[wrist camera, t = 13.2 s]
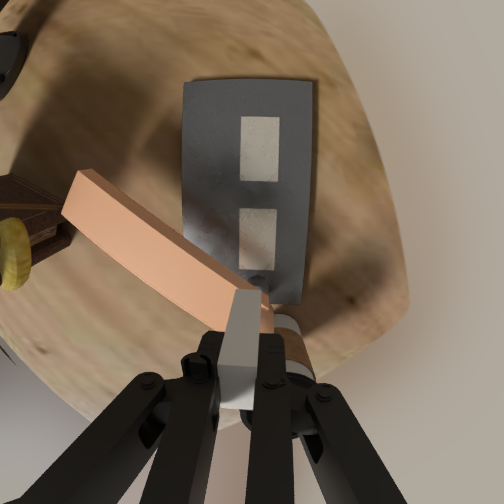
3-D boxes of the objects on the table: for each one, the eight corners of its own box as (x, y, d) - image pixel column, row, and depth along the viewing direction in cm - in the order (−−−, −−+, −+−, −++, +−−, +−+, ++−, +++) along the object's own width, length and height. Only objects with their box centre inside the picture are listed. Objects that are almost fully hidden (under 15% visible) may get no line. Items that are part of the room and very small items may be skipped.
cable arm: (74, 209, 24) (58, 214, 22) (91, 168, 23) (75, 170, 20) (254, 339, 28) (253, 356, 25) (285, 307, 26) (286, 322, 24)
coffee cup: (262, 362, 37) (258, 447, 23) (234, 318, 35) (217, 405, 21) (316, 342, 36) (335, 428, 22) (294, 294, 34) (308, 380, 19)
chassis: (186, 85, 26) (167, 68, 20) (310, 84, 26) (321, 66, 19) (190, 294, 34) (175, 322, 28) (299, 300, 34) (305, 329, 28)
